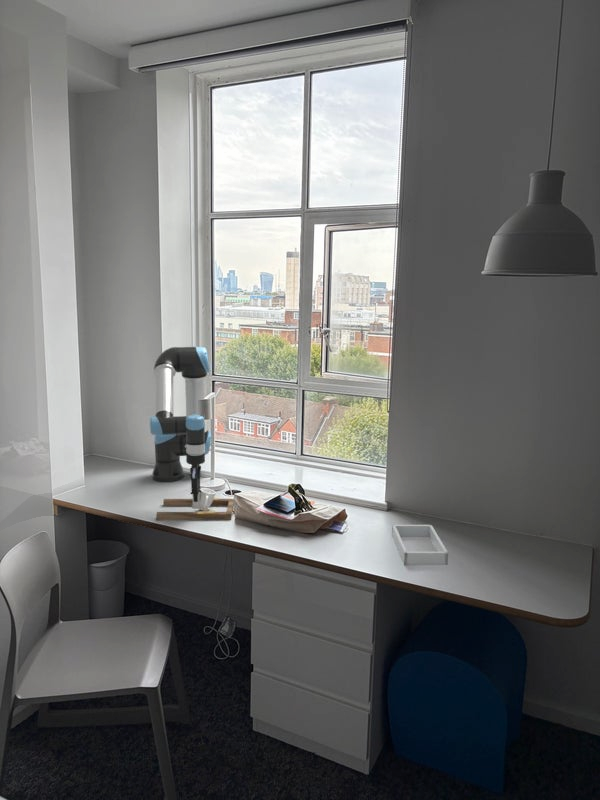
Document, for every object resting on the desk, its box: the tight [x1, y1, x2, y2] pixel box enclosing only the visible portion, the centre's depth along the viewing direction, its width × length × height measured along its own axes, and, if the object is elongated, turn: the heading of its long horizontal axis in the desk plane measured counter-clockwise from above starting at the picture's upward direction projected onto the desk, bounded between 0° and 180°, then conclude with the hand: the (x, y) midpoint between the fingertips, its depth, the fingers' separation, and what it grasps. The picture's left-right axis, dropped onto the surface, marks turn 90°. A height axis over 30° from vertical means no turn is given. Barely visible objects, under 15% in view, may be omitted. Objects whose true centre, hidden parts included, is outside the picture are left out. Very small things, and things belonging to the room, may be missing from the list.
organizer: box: [391, 524, 449, 566], centre depth 221 cm, size 24×15×4 cm, turn 2°
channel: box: [155, 497, 235, 521], centre depth 255 cm, size 17×30×3 cm, turn 92°
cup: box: [198, 487, 217, 511], centre depth 255 cm, size 7×10×8 cm
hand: (196, 508), depth 254 cm, fingers closed
